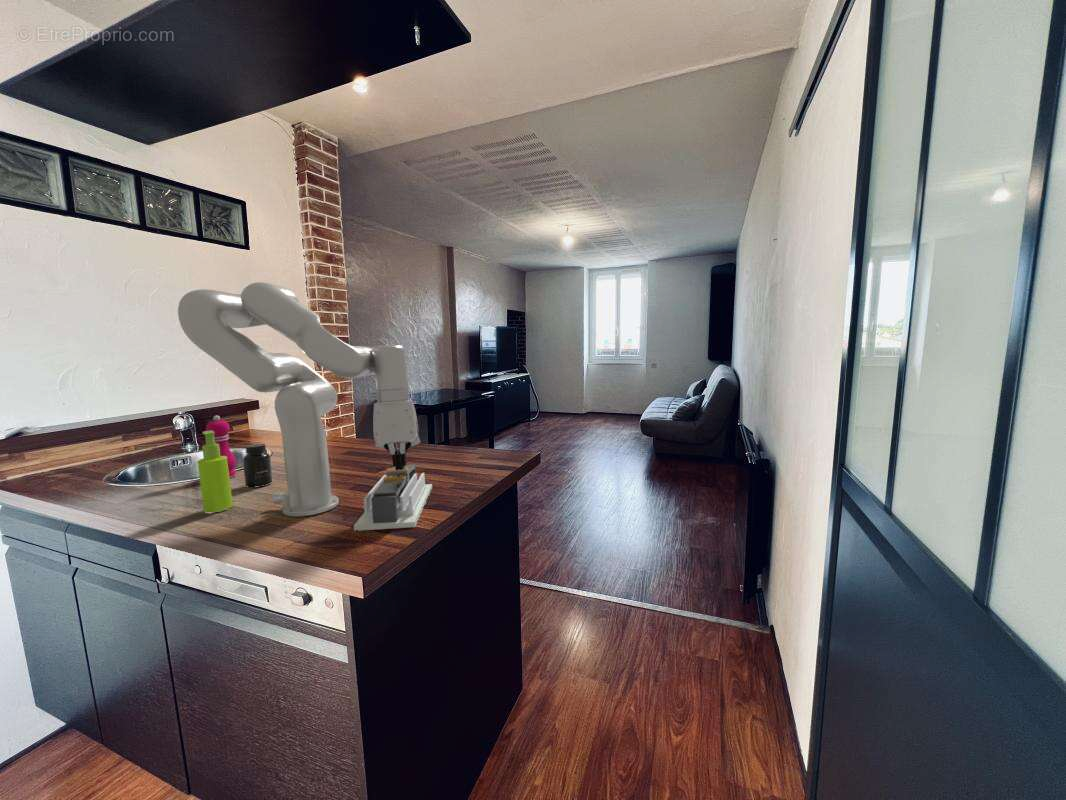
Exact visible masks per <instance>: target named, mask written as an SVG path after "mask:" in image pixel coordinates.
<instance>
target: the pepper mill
mask: <svg viewBox="0 0 1066 800" xmlns="http://www.w3.org/2000/svg"><path fill="white" fill-rule="evenodd" d="M212 419H213V420H211V421H209V422H208V423H207V425H206V427H205V431H211V430H213V431H214V432H215V435H214V441H215V443H217V444H219V447H220V455H221V456H226V457H227V462H228V470H229V477H230V476H233V475H235V474H236V475H237V472H236V469H234V468H235V466H237V459H236V458H235V456H234V454H233V453H232V451H231V449H230V446H229V441H228V440H229V439H230V437H229V434H228V433H229V432H230V430H231V429H230V424H229V423H228V422H227V421H225V420H221V417H220V416H219V415H214V416H213V417H212Z"/></svg>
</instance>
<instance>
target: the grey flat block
mask: <svg viewBox="0 0 1066 800" xmlns="http://www.w3.org/2000/svg"><path fill="white" fill-rule="evenodd" d="M390 476H391V475H390ZM390 476H387V477H384V478H383V482H382V483H381V484H380V486H379V487H378V488H377V489H376V491H375V492H374V493H373V497H376V496H394V495H396V497H397V495H398V494H399V492H400V490H401V489H402V487H403V486H404V484H405V483H406V476H397V475H394V476H391V477H390Z"/></svg>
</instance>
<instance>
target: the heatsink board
mask: <svg viewBox="0 0 1066 800" xmlns="http://www.w3.org/2000/svg"><path fill="white" fill-rule="evenodd" d="M425 475H426V474H425V472H422V473H421V474H420V476H419V478H418V473H417V465H415V469H414V470H412V471H411V472H410V473H409V474H407V475H396V476H406V483H405V484H404V486H403V487H402V489H401V490H400V492H399V494H398V495H397V497H396V495H394V496H376V497H373V493H374V492H375V491H376V489H377V488H378V487H379V486H380V484H381V483H382V482H383V478H384V477H388V476H387V474H384V475H383V476H382V477H381V478H380V479H379V481H377V483H375V485H374V486H373V487H372V488H371V490H370V491H368V493H367V494H366V495H365V497H363V507H364V510H363V511H364V512H363V513H362V514H361V516H360V517H359V518H358V520H357V521H356V522H355V523H354V524H353V531H354V532H356V530H358V531H371V530H372V531H374V530H386V529H387V530H389V529H404V528H416V525H417V523H418V522H417V521H419V519H420V517H421V515H422V513H423V510H424V508H423V507H425V506H424V505H426V503H427V501H428V499H427V498H429V497H428V496H430V495H431V492H432V490H433V483H428V484H427V483H426V478H425V477H426V476H425ZM391 476H395V475H390V476H389V477H391ZM431 489H432V490H431ZM430 491H431V492H430ZM426 500H427V501H426ZM420 514H421V515H420Z"/></svg>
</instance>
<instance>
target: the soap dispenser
mask: <svg viewBox="0 0 1066 800" xmlns="http://www.w3.org/2000/svg"><path fill="white" fill-rule="evenodd" d="M202 434H203V435H204V437H205V444H203V445H202V447H201V448H202V456H203V458H201V459H199V460H197V468H198V475H199V483H200V490H201V498H202V499H201V500H202V506H203V512H204V511H206V512H215V511H221V510H224V509H227V508H230V507H231V506H232V505H233V504H234V502H233V496H232V488H231V478H229V470H228V462H227V457H226V456H221V455H220V447H219V444H217V443H215V441H214V435H215V432H214V431H213V430H211V431H206V430H205V431H202ZM233 506H234V505H233Z"/></svg>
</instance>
